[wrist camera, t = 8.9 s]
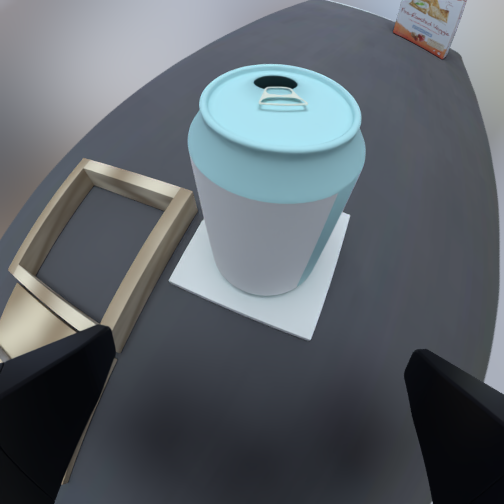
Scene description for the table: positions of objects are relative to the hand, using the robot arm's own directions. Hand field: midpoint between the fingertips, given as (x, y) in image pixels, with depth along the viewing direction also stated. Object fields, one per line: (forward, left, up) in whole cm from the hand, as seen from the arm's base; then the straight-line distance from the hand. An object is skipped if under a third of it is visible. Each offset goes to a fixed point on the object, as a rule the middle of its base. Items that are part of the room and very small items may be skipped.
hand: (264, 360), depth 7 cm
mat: (+3, -8, -10) cm, 13 cm away
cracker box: (-12, -75, -11) cm, 77 cm away
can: (+3, -8, -10) cm, 13 cm away
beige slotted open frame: (+15, +3, -10) cm, 18 cm away
